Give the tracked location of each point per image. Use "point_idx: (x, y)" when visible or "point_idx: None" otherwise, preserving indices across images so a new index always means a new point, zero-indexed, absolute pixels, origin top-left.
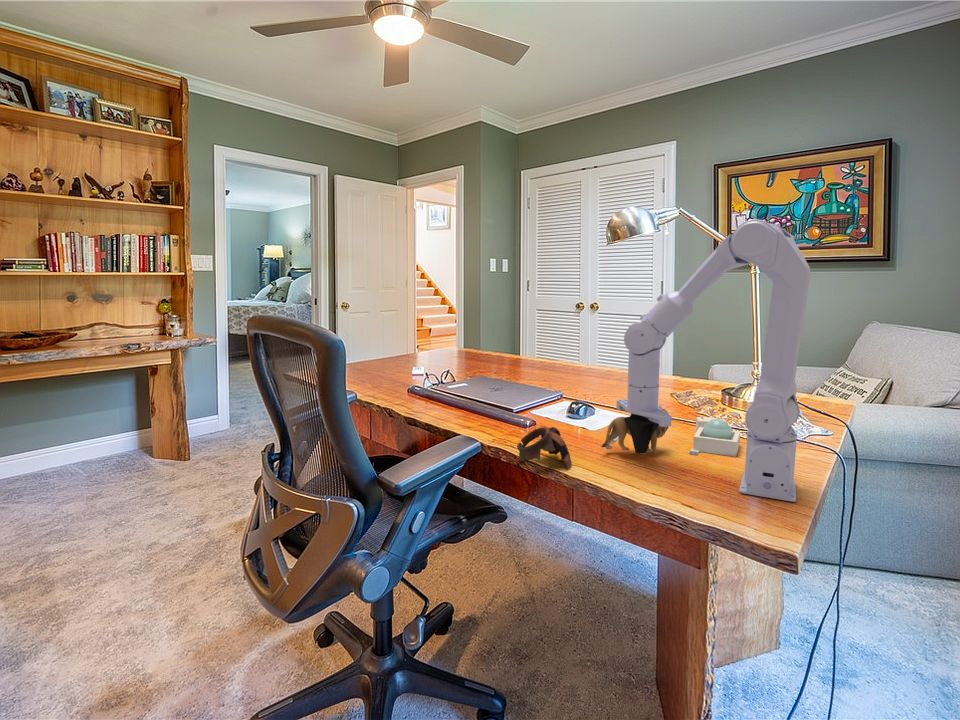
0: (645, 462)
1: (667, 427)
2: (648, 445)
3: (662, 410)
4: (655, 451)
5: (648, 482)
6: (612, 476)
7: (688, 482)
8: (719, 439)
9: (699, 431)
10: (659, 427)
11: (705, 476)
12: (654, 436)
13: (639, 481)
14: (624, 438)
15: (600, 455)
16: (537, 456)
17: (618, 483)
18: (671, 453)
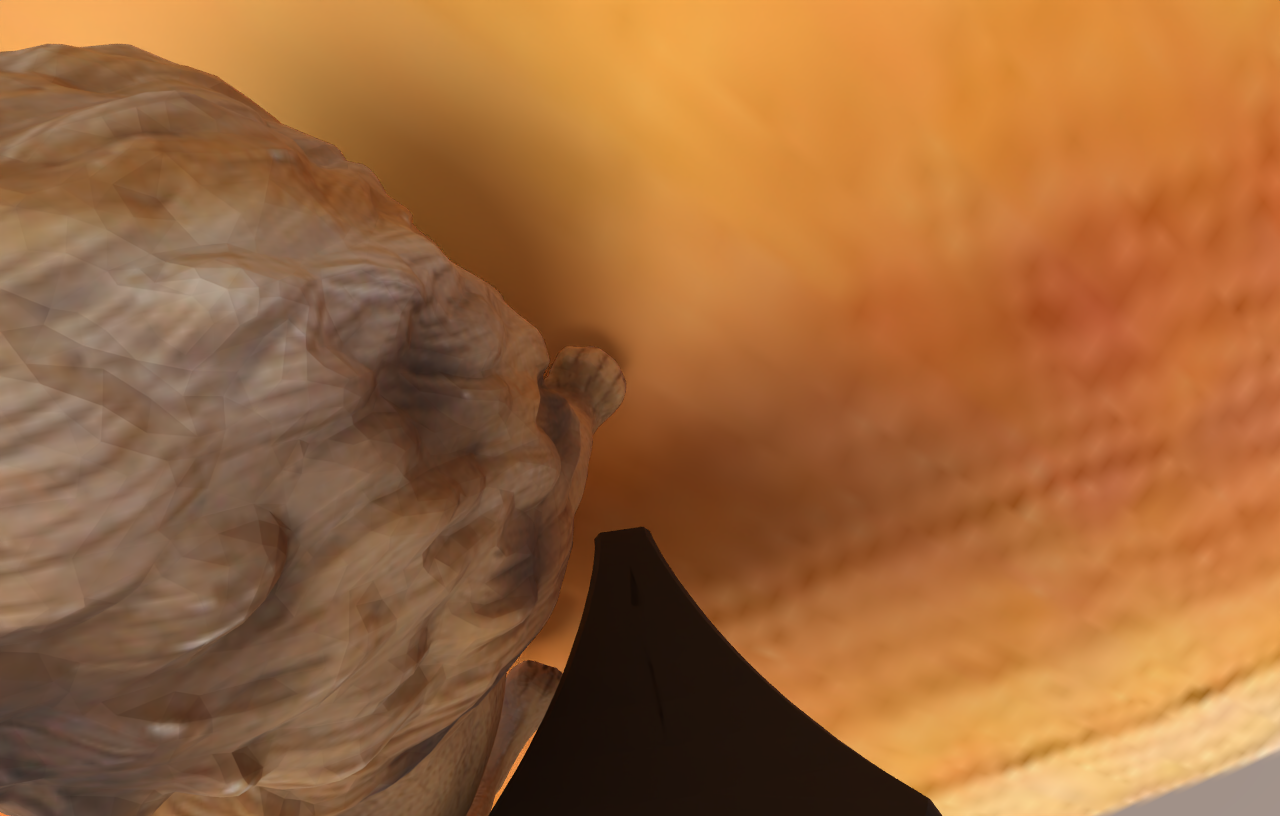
0: (708, 522)
1: (411, 224)
2: (674, 576)
3: (65, 599)
4: (617, 406)
5: (1060, 660)
6: None
7: (1243, 421)
8: None
9: None
10: (571, 523)
11: (1274, 192)
12: (574, 509)
13: (1014, 699)
14: (488, 799)
15: None
16: None
17: (969, 798)
18: (519, 81)
